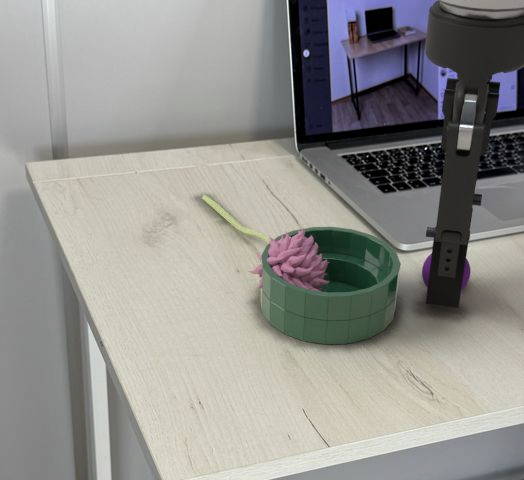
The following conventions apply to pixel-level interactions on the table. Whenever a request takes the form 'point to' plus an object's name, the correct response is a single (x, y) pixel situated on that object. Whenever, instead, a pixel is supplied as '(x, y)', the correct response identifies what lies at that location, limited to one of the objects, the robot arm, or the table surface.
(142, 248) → the table surface
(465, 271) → the ball
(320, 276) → the artificial flower
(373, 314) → the bowl
